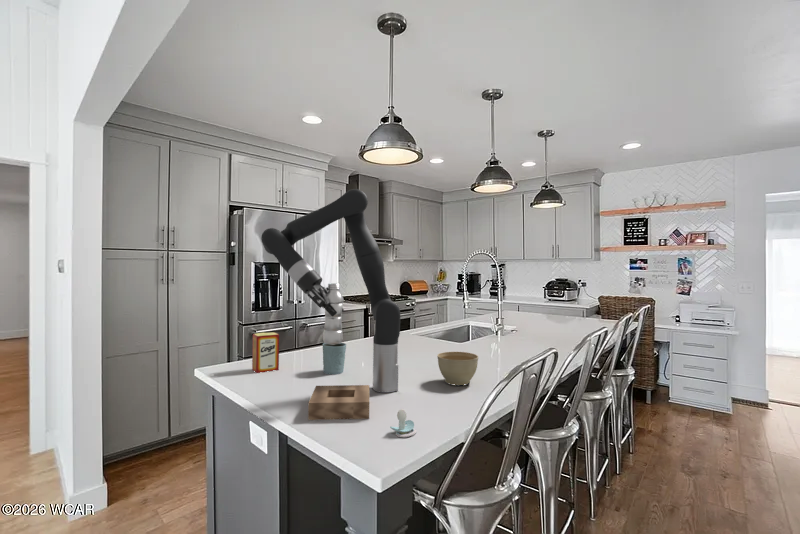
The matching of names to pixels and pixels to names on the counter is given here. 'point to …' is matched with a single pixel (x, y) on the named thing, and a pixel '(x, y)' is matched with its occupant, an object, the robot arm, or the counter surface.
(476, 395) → the counter surface
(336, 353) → the drinking glass
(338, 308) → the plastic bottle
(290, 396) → the counter surface
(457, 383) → the planter bowl
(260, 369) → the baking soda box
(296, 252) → the robot arm
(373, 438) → the counter surface
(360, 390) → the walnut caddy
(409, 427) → the pacifier
